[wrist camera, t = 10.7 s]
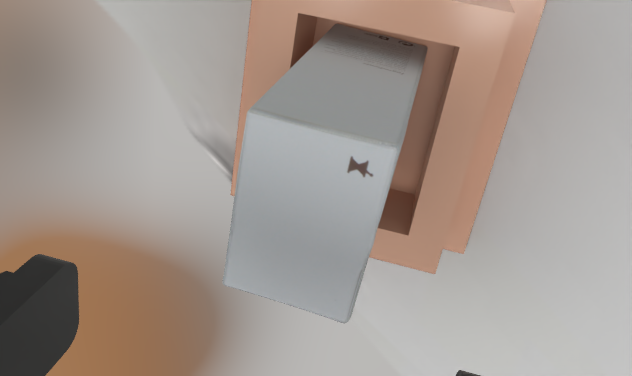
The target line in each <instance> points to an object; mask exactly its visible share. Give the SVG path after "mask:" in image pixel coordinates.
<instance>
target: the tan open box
mask: <svg viewBox="0 0 632 376" xmlns="http://www.w3.org/2000/svg"><path fill="white" fill-rule="evenodd" d="M546 1H547V0H252V4H251V13H250V22H249V31H248V40H247V49H246V58H245V67H244V77H243V86H242V95H241V104H240V113H239V122H238V131H237V140H236V150H235V159H234V168H233V177H232V186H231V195H232V196H235V189H236V181H237V173H238V167H239V160H240V154H241V148H242V141H243V135H244V129H245V123H246V116H247V112H248V110H249V109H250V108H251V107H252V106H253V105H254V104H255V103H256V102H257V101H258V100H259V99H260V98H261V97H262V96H263V95H264V94H265V93H266V92H267V91H268V90H269V89H270V88H271V87H272V86H273V85H274V84H275V83H276V82H277V81H278V80H279V79H280V78H281V77H282V76H284V74H285V73H286V72H287V71H288V70H289V69H290V68H291V67H293V66H294V64H296V63H297V61H298V60H299V59H300V58H301V57H302V56H304V55H305V53H307V52H308V51H309V50H310V49H311V48H312V47H313V46H314V45H315V44H316V43H317V42H318V41H319V40H320V39H321V38H322V37H323V36H324V35H325V34H326V33H327V32H328V31H329V30H330V29H331V28H332V27H333V26H334V25H335V24H341V25H345V26H349V27H352V28H356V29H360V30H364V31H368V32H372V33H376V34H381V35H385V36H389V37H393V38H397V39H400V40H404V41H408V42H412V43H416V44H420V45H424V46H426V47H427V49H428V50H427V54H426V57H425V61H424V65H423V69H422V72H421V76H420V80H419V84H418V87H417V91H416V95H415V98H414V102H413V105H412V109H411V113H410V116H409V120H408V125H407V129H406V133H405V137H404V140H403V144H402V147H401V150H400V154H399V157H398V160H397V164H396V167H395V171H394V174H393V178H392V181H391V185H390V188H389V192H388V195H387V199H386V202H385V206H384V209H383V212H382V216H381V219H380V222H379V225H378V228H377V232H376V236H375V240H374V244H373V247H372V250H371V252H370V255H369V257H370V258H374V259H378V260H382V261H386V262H390V263H394V264H397V265H401V266H405V267H409V268H413V269H417V270H421V271H425V272H428V273H432V274H435V272H436V269H437V266H438V263H439V259H440V256H441V253H442V250H443V249H446V250H450V251H454V252H458V253H462V254H464V251H465V248H466V245H467V242H468V239H469V236H470V233H471V230H472V227H473V224H474V221H475V218H476V214H477V211H478V208H479V205H480V202H481V199H482V196H483V193H484V190H485V187H486V184H487V181H488V178H489V175H490V172H491V169H492V166H493V163H494V159H495V156H496V153H497V150H498V147H499V144H500V141H501V138H502V135H503V132H504V129H505V126H506V123H507V120H508V117H509V114H510V111H511V108H512V105H513V101H514V98H515V95H516V92H517V89H518V86H519V83H520V80H521V77H522V74H523V71H524V68H525V65H526V62H527V59H528V56H529V53H530V50H531V46H532V43H533V40H534V37H535V34H536V31H537V28H538V25H539V22H540V19H541V16H542V13H543V10H544V7H545V4H546Z"/></svg>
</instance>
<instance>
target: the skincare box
mask: <svg viewBox="0 0 632 376" xmlns="http://www.w3.org/2000/svg"><path fill="white" fill-rule="evenodd" d="M427 50H428V49H427V47H426V46H424V45H420V44H416V43H412V42H408V41H404V40H400V39H397V38H393V37H389V36H385V35H381V34H376V33H372V32H368V31H364V30H360V29H356V28H352V27H349V26H345V25H341V24H335V25H334V26H333V27H332V28H331V29H330V30H329V31H328V32H327V33H326V34H325V35H324V36H323V37H322V38H321V39H320V40H319V41H318V42H317V43H316V44H315V45H314V46H313V47H312V48H311V49H310V50H309V51H308V52H307V53H305V55H304V56H302V57H301V58H300V59H299V60H298V61H297V63H296V64H294V66H293V67H291V68H290V69H289V70H288V71H287V72H286V73H285V74H284V76H282V77H281V78H280V79H279V80H278V81H277V82H276V83H275V84H274V85H273V86H272V87H271V88H270V89H269V90H268V91H267V92H266V93H265V94H264V95H263V96H262V97H261V98H260V99H259V100H258V101H257V102H256V103H255V104H254V105H253V106H252V107H251V108H250V109H249V110H248V112H247V116H246V123H245V129H244V135H243V141H242V148H241V154H240V160H239V167H238V173H237V181H236V189H235V197H234V205H233V213H232V221H231V229H230V236H229V242H228V249H227V257H226V264H225V271H224V277H223V284H224V285H225V286H228V287H232V288H235V289H239V290H242V291H245V292H248V293H252V294H255V295H258V296H262V297H265V298H269V299H272V300H275V301H278V302H281V303H284V304H287V305H290V306H293V307H297V308H300V309H303V310H306V311H309V312H312V313H315V314H318V315H321V316H324V317H327V318H330V319H333V320H335V321H339V322H341V323H346V322H348V321H349V319H350V318H351V315H352V312H353V308H354V305H355V301H356V298H357V294H358V291H359V288H360V284H361V281H362V278H363V274H364V271H365V268H366V264H367V261H368V258H369V255H370V252H371V250H372V247H373V244H374V240H375V236H376V232H377V228H378V225H379V222H380V219H381V216H382V212H383V209H384V206H385V202H386V199H387V195H388V192H389V188H390V185H391V181H392V178H393V174H394V171H395V167H396V164H397V160H398V157H399V154H400V150H401V147H402V144H403V140H404V137H405V133H406V129H407V125H408V120H409V116H410V113H411V109H412V105H413V102H414V98H415V95H416V91H417V87H418V84H419V80H420V76H421V72H422V69H423V65H424V61H425V57H426V54H427Z"/></svg>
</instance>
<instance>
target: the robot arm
mask: <svg viewBox="0 0 632 376" xmlns="http://www.w3.org/2000/svg"><path fill="white" fill-rule="evenodd" d="M78 324H79V302H78V271H77V267H76V265H75V264H74V263H71V262H67V261H64V260H60V259H56V258H53V257H49V256H45V255H42V254H38V255H35V256H34V257H32V258H31V259H30V260H28V261H27V262H26V263H25V264H24V265H22V266H21V267H20V268H19V269H18V270H17V271H15V272H14V273H12V272H8V271H5V272H3V273H0V376H45V375H46V374H47V373H48V372H49V371H50V369H51V368H52V367H53V366H54V365H55V364H56V363H57V361H58V360H59V359H60V358H61V357H62V356H63V354H64V353H65V352H66V351H67V350H68V348H69V347H70V345H71V344H72V342H73V340H74V338H75V335H76V332H77V329H78ZM456 376H480V375H476V374H473V373H469V372H465V371H462V370H459V371H458V372H457V374H456Z"/></svg>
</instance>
